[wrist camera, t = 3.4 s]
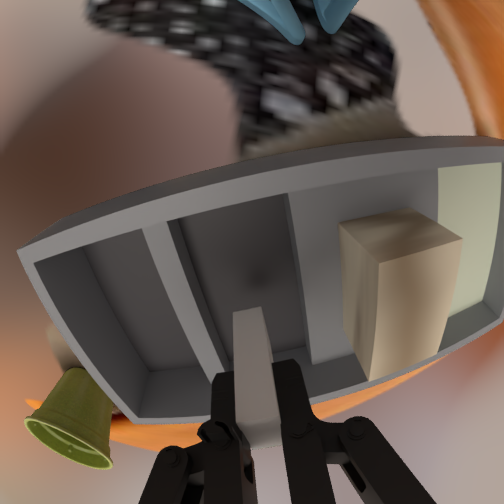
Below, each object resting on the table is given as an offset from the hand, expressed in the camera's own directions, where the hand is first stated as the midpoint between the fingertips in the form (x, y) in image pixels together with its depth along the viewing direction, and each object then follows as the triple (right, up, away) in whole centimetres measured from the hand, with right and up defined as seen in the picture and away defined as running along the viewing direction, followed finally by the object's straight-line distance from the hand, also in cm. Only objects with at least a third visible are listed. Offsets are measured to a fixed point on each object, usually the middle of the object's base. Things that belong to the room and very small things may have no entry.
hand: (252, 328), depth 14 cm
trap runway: (+5, +3, +4) cm, 7 cm away
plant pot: (-18, -10, +9) cm, 22 cm away
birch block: (+8, +3, +2) cm, 9 cm away
